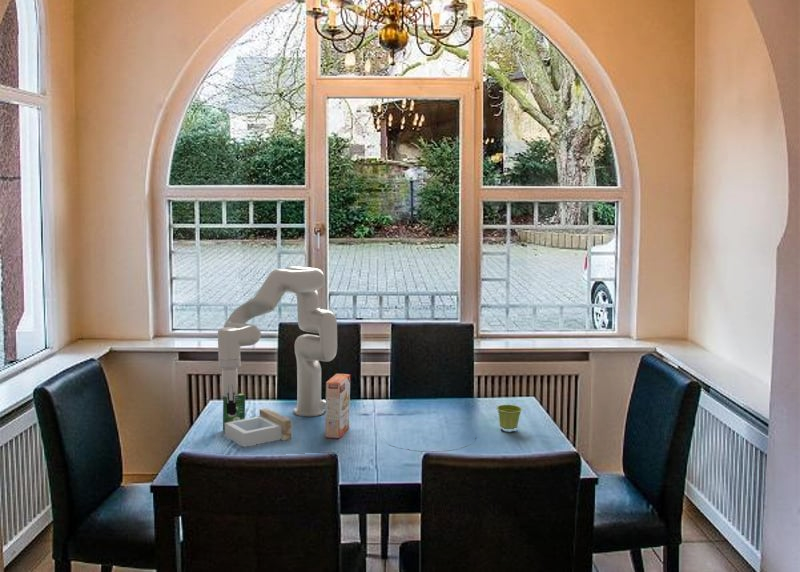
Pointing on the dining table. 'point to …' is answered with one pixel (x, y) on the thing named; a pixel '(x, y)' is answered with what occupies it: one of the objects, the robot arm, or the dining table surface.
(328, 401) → the cracker box
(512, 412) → the plant pot
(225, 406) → the coffee box
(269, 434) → the open-top box
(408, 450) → the dining table surface
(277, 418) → the wall
